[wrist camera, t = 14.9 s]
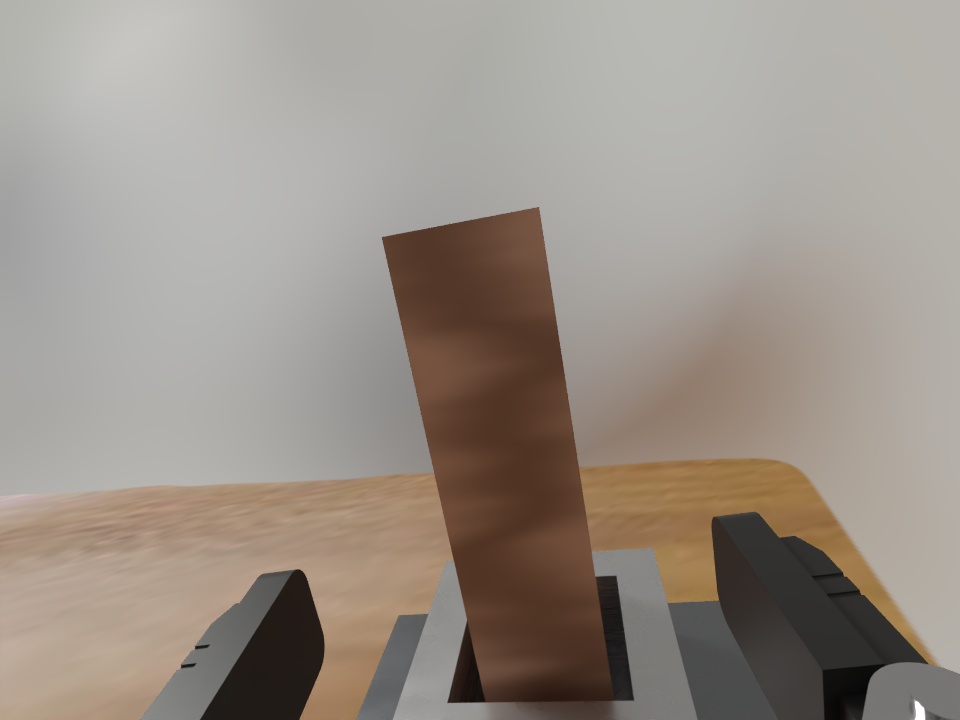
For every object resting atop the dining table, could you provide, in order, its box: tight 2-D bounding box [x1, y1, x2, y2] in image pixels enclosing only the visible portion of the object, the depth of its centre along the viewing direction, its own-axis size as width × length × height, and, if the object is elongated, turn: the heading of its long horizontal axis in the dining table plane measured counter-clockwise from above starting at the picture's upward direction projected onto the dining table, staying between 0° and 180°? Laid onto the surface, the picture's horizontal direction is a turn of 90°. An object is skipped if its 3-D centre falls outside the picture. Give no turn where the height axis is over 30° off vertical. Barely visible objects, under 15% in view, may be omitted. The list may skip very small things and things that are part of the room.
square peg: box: [382, 207, 614, 703], centre depth 17 cm, size 4×4×18 cm
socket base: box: [356, 548, 778, 720], centre depth 19 cm, size 16×12×5 cm
